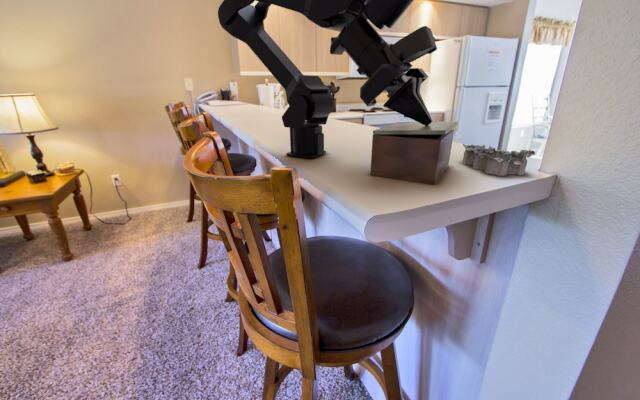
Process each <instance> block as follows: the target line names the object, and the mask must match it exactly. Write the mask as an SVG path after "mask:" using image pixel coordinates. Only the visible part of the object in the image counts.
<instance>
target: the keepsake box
mask: <svg viewBox="0 0 640 400" xmlns="http://www.w3.org/2000/svg"><path fill="white" fill-rule="evenodd" d="M454 133H455V129H452V130H450V131H449V132H448V133H446V134H372V142H371V156H370V157H371V158H370V174H369V175H370V176H376V177H383V178H389V179H395V180H401V181H402V180H403V181H409V182H415V183H420V184H428V185H435V184H436V183H437V182H438V181H439V179H440V178H441V177H442V176H443V174H444V173H445V171H446V170H447V169H448V167H449V166H450V165H449V164H450V159H451V151H452V144H453V141H454V140H453V139H454V135H455V134H454Z"/></svg>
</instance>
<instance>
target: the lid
mask: <svg viewBox="0 0 640 400" xmlns="http://www.w3.org/2000/svg"><path fill="white" fill-rule="evenodd" d="M458 125H459V121H458V120H456V121H455V120H453V121H450V120H449V121H448V120H447V121H432V123H430V124H429V125H428V126H425V125H423V124H421V123H419V122H417V121H410V122H408V121H407V122H405V121H404V122H395V123H391V124H389V125H388V124H387V125H386V126H383V127H380V128H377V129H374V130H372V135H374V134H446V133H448V132H449V131H450V130H454V129H455V127H457V126H458Z"/></svg>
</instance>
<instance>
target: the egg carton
mask: <svg viewBox="0 0 640 400" xmlns="http://www.w3.org/2000/svg"><path fill="white" fill-rule="evenodd" d="M462 146H463V147H464V149H465V150H463V151H464V152H463V156H462V161H461V162H462V164H463V165H469V166H472V168H473V169H475V170H484V171H485V172H484V173H485V174H487V175H492V176H493V175H494V176H499V177H503V176H504V177H505V176H507V174H508V175H509V174H510V175H517V176H524V175H525V172H526V167H527V165H528V158H530V157H532V156H534V155H535V154H536V153H535V150H531V149H521V150H520V151H517V150H511V151H509V150H502V149H497V150H496V147H492V146H489V147H488V148H487V147H486V145H485V144H482V145H477V144H476V145H474V144H465V143H462Z"/></svg>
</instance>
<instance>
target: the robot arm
mask: <svg viewBox="0 0 640 400" xmlns="http://www.w3.org/2000/svg"><path fill="white" fill-rule="evenodd" d="M255 1H256V4H255V5H253V3H254V2H255ZM414 1H415V0H223V1H222V2H221V4H220V5H219V7H218V8H217V17H218V22H219V24H220V26H221V28H222V29H223V30H224V31H225V32H227V34H229V35H230V36H232V37H233V38H235V39H237V40H239V41H240V42H242V43H245V44H246V46H248V48H249V49H250V50H251V51H252V52H253V54H254V55H255V56H256V57H257V59H259V61H260V62H261V63H262V64H263V65H264V67H265V68H266V69H267V70H268V72H270V74H271V75H272V76H273V78H274V79H275V80H276V81H277V82H278V83H279V85H280V86H281V87H282V89H284V91H285V96H286V97H285V98H286V102H287V105H288V107H287V108H286V110H285V112H284V113H283V114H282V115H281V120H282V123H283V127H284V128H288V129H289V143H290V145H289V146H290V151H288V152H285V153H286V154H285V155H286V156H288V157H295V158H301V159H302V158H303V159H309V160H310V159H314V158H317V157H319V156H322V155H325V154H326V153H327V150H325V134H324V133H323V125H327V122H328V120H329V116H330V114H331V113H332V110H333V108H334V98H333V95H332V94H331V92H330V91H331V88H330V87H329V86H327V85H325V83H324V82H323V80H322V78H321V77H320V76H319V75H308V74H307V75H306V74H303V72H302V71H301V70H300V69H299V68H298V67H297V66H296V64H295V63H294V62H293V61H292V60H291V59H290V57H289V56H288V55H287V54H286V52H284V50H283V49H282V48H281V47H280V46H279V45H278V43H276V41H275V40H274V39H273V38H272V37H271V35H270V34H269V33H268V32H267V31H266V30H265V23H264V21H265V20H266V18H267V17H268V13H269V8H270V7H271V6H272V5H274V6H277V7H280V8H283V9H286V10H290V11H294V12H296V13H299V14H301V15H303V16H304V17H305V18H306V19H307V20H308V21H310V22H312V23H313V24H315V25H317V26H318V27H320V28H321V29H327V30H330V31H335V32H338V35H337V36H334V37H333V36H332V37H330V47H329V53H330V55H335V56H337V55H338V56H341V55H343V54H344V53H346V54H347V55H348V57H349V58H350V59H351V61H353V63H354V64H355V65H356V67H357V68H356V72H357V73H358V74H359V75H360V76H365V77H366V78H367V80H366V81H365V82H364V83H363V85H361V87H360V88H359V98H360V99H361V101H362V102H363V103H364V104H365V105H366V106H367V107H374V106H375V105H376V104H377V103H378V102H377V98H378V97H379V96H380V95H381V94H387V95H386V97H387V98H388V99H387V100H386V101H385V102H384V103H383V105H382V106H383V108H386V109H389V110H391V111H393V112H395V113H397V114H399V115H403V116H404V117H407V118H408V119H411V120H413V121H414V122H419V123H421V124H423V125H425V126H428V125H429V124H430V123H432V122H433V119H432V117H431V115H430V112H429V110H428V107H427V105H426V103H425V101H424V99H423V97H422V94H421V86H422V84H423V83H424V82H425V81H426V80H427V79H428V78H429V75H428V74H427V73H426V72H425V70H424V69H423V68H420V67H414V68H412V67H413V64H412V62H415V61H416V60H419V59H420V58H422V57H424V56H426V55H430V54H433V53H434V52H437V50H438V47H437V44H436V38H435V36H434V35H433V32H432V28H430V27H429V26H428V25H424V26H420V27H419V28H416V29H415V30H414V31H412V32H410V33H408V34H407V35H406V36H404V37H402V38H400V39H399V40H397V41H396V42H394V43H388V41H386V40H385V39H384V38H383V37H382V36H381V34H380V33H379V32H378V30H377V29H379V30H381V31H382V30H383V29H384V28H385V27H387V28H388V29H392V28H393V27H394V25H395V24H396V23H397V21H399V19H400V18H401V17H402V16H403V14H404V13H405V12H406V11H407V10H408V8H409V7H410V6H411V5H412V4H413V2H414ZM374 26H375V27H374ZM375 28H377V29H375Z"/></svg>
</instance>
